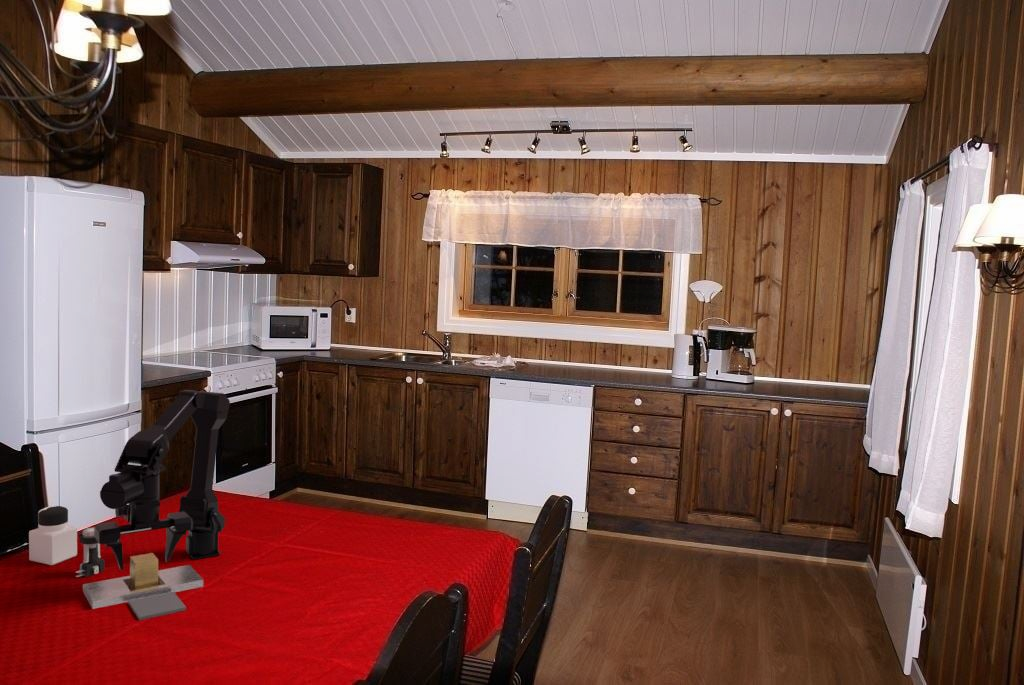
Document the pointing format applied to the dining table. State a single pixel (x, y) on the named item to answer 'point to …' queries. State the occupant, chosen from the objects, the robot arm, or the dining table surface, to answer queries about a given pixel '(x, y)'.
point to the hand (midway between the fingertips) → (144, 565)
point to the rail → (120, 593)
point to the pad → (156, 605)
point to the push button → (90, 554)
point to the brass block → (143, 571)
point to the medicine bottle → (52, 537)
